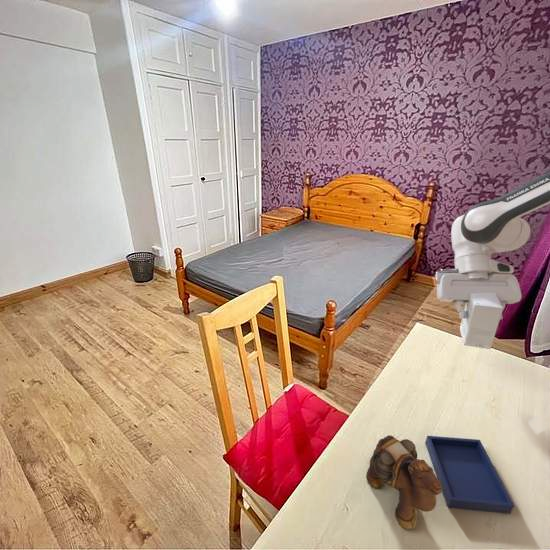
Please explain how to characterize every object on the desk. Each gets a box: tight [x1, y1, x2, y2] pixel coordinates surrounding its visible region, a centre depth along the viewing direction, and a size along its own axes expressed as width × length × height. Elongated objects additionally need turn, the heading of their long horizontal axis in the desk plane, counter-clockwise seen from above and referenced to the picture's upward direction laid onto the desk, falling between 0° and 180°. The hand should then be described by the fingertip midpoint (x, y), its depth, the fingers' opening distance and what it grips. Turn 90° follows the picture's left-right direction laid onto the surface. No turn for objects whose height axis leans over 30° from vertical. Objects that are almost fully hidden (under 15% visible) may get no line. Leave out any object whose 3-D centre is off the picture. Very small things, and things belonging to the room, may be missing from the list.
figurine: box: [365, 435, 442, 530], centre depth 58 cm, size 9×15×15 cm, turn 26°
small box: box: [459, 293, 504, 350], centre depth 82 cm, size 8×6×13 cm
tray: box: [424, 435, 515, 514], centre depth 63 cm, size 11×13×3 cm
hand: (481, 318), depth 81 cm, fingers closed on small box, 7 cm apart
